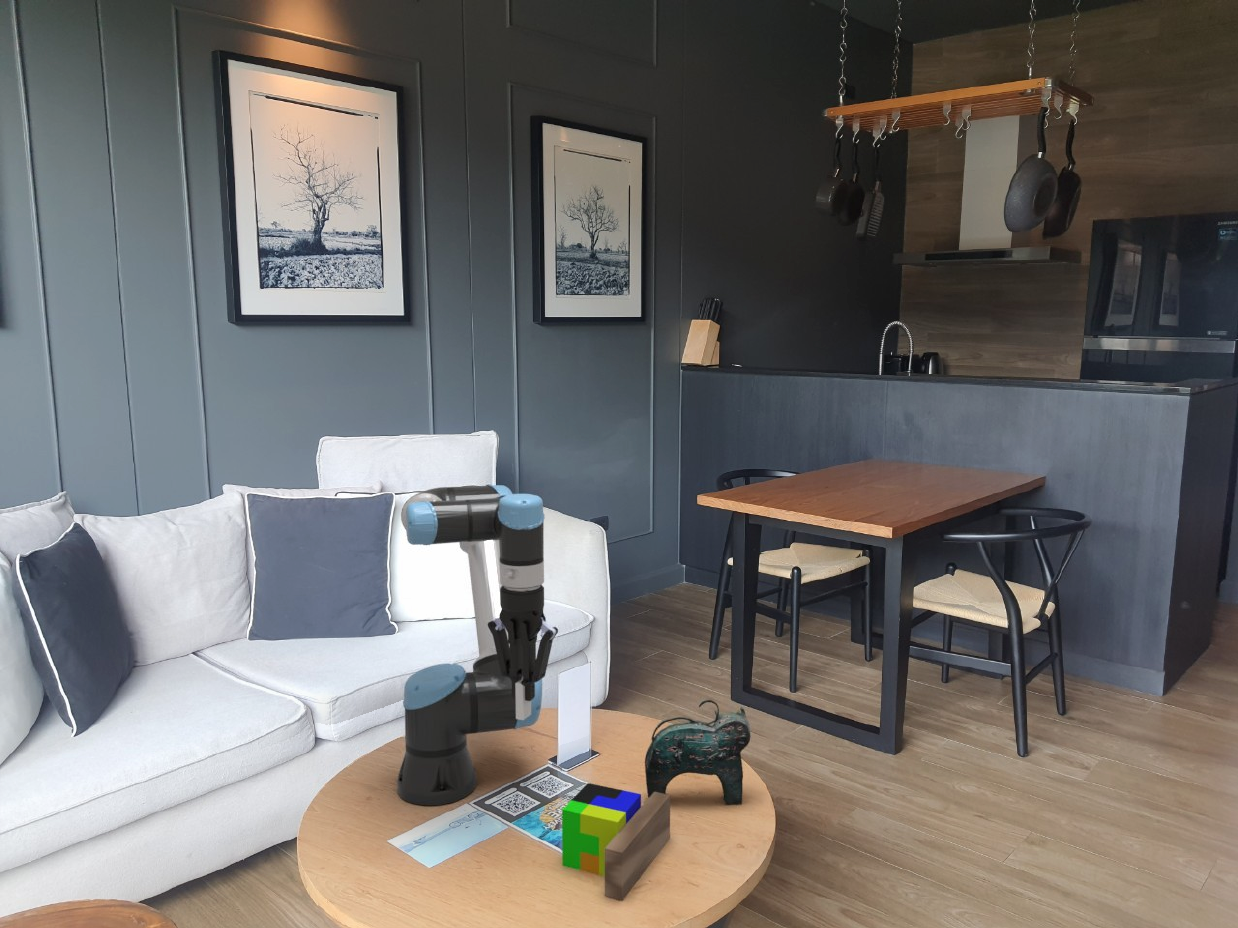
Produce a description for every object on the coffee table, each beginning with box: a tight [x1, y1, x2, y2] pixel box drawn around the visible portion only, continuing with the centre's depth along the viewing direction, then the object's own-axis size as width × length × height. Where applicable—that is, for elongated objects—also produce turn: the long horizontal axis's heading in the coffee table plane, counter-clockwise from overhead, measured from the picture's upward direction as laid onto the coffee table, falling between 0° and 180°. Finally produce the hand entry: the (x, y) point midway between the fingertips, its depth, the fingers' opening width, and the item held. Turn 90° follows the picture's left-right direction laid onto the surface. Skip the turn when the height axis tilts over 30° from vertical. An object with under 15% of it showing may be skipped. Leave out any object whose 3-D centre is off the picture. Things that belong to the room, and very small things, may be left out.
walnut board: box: [604, 792, 671, 901], centre depth 152 cm, size 3×20×8 cm, turn 155°
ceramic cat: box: [644, 699, 751, 806], centre depth 172 cm, size 20×6×20 cm, turn 92°
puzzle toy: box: [561, 782, 642, 877], centre depth 155 cm, size 10×10×10 cm
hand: (523, 716), depth 160 cm, fingers closed
